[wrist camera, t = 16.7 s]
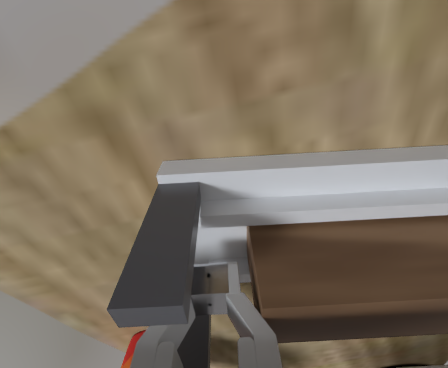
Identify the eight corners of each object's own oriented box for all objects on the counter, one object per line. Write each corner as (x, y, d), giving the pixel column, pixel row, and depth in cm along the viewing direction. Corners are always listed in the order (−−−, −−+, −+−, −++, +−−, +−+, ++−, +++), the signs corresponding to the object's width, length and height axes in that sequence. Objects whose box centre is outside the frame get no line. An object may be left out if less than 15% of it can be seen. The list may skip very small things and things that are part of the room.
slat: (470, 238, 13) (584, 326, 9) (246, 251, 14) (259, 344, 9) (501, 200, 12) (655, 286, 8) (246, 215, 12) (262, 308, 8)
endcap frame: (447, 251, 17) (640, 426, 9) (186, 265, 17) (161, 450, 9) (535, 140, 12) (1126, 322, 4) (162, 161, 12) (64, 377, 4)
